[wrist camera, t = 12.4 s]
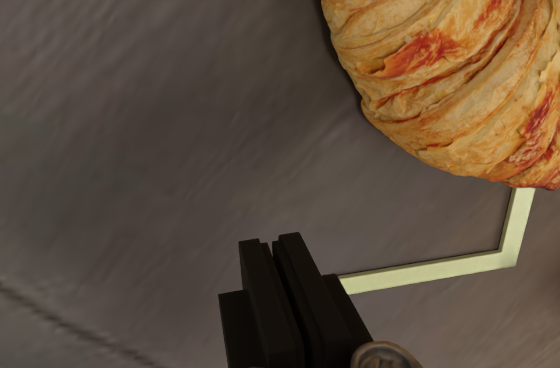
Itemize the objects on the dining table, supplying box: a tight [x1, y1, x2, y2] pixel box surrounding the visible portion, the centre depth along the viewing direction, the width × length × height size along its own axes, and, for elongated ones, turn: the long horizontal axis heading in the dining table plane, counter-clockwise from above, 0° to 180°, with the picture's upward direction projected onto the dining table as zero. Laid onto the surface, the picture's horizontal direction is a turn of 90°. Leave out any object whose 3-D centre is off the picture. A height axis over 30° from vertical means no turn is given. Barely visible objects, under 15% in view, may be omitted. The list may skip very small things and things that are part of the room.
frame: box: [337, 188, 535, 294], centre depth 26 cm, size 17×28×1 cm, turn 3°
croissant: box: [321, 0, 560, 191], centre depth 23 cm, size 21×10×8 cm
